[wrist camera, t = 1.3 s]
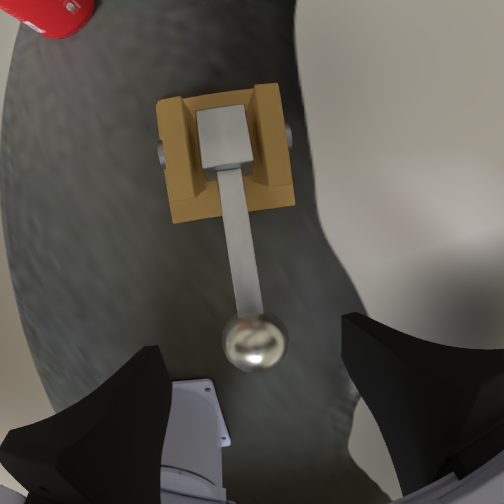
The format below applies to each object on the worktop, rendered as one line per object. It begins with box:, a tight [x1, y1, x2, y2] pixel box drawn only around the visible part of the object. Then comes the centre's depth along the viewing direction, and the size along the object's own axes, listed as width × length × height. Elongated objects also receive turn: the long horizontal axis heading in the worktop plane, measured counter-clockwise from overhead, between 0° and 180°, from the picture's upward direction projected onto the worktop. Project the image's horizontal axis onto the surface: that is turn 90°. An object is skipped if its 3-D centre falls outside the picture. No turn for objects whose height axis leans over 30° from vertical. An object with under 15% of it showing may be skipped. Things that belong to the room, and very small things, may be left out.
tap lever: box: [195, 104, 289, 373], centre depth 13 cm, size 12×3×3 cm, turn 8°
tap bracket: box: [156, 83, 295, 224], centre depth 15 cm, size 8×8×8 cm
